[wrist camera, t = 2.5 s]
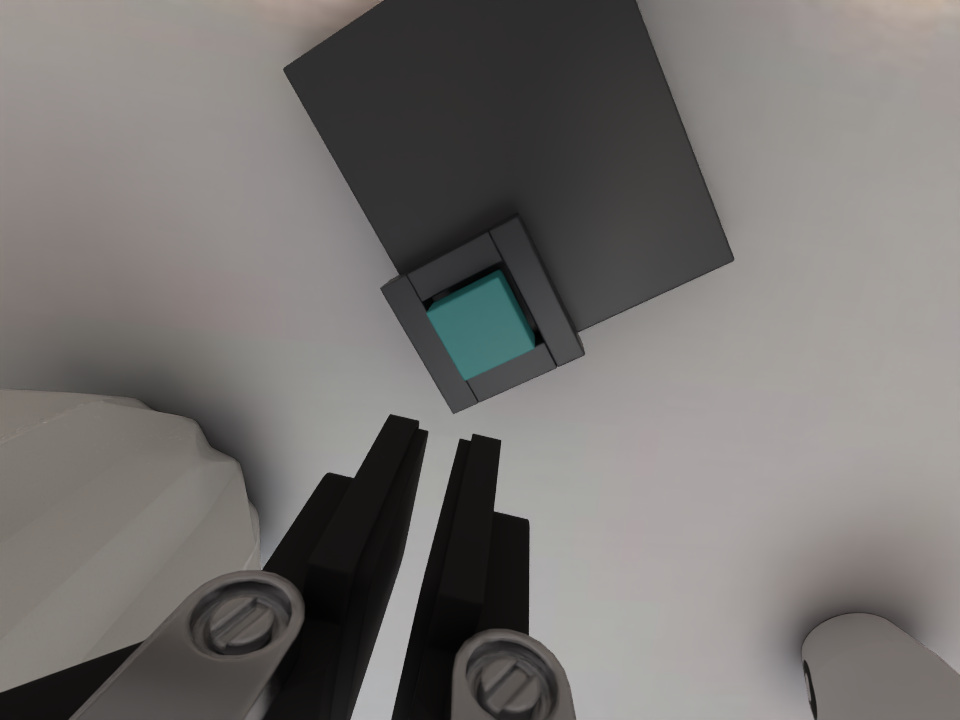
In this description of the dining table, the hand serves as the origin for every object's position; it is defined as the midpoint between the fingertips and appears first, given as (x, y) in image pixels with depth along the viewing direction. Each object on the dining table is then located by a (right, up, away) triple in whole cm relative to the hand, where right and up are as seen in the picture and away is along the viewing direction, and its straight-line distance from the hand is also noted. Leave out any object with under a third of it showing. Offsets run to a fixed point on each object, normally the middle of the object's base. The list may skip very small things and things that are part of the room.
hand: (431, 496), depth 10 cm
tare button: (+1, +4, +11) cm, 12 cm away
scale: (+2, +10, +12) cm, 16 cm away
